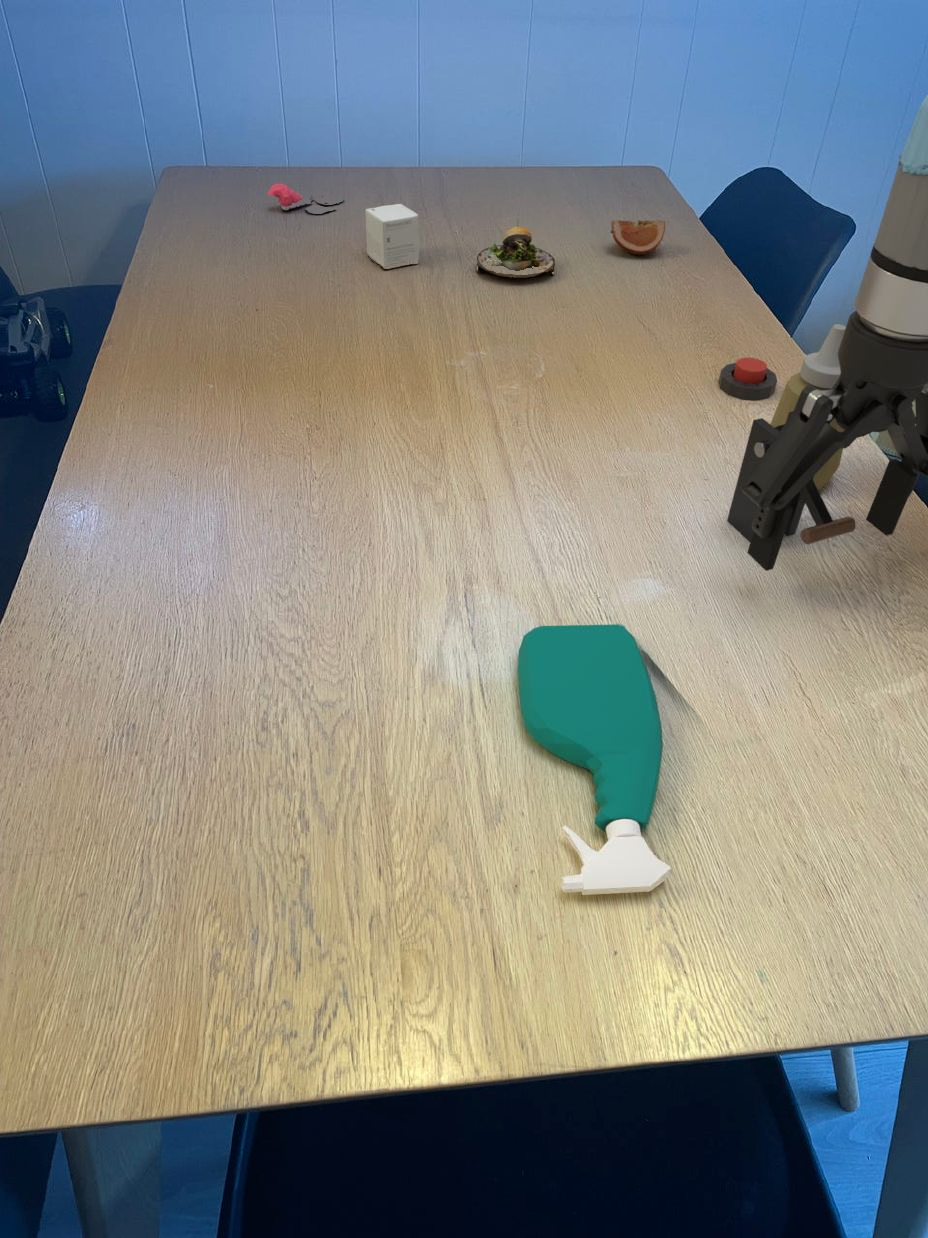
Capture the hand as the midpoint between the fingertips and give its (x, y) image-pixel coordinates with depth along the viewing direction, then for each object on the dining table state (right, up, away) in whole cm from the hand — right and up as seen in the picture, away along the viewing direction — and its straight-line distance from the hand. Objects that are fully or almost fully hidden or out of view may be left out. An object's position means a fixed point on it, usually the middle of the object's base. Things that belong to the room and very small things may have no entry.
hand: (820, 543), depth 84 cm
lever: (-2, +5, +1) cm, 6 cm away
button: (+2, +22, +28) cm, 36 cm away
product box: (-43, +48, +59) cm, 87 cm away
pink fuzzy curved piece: (-59, +64, +76) cm, 116 cm away
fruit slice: (-5, +51, +64) cm, 82 cm away
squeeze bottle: (+3, +7, +16) cm, 17 cm away
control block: (+3, +19, +28) cm, 34 cm away
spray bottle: (-22, -18, -12) cm, 31 cm away
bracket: (-3, +1, +8) cm, 9 cm away
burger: (-25, +46, +57) cm, 77 cm away
